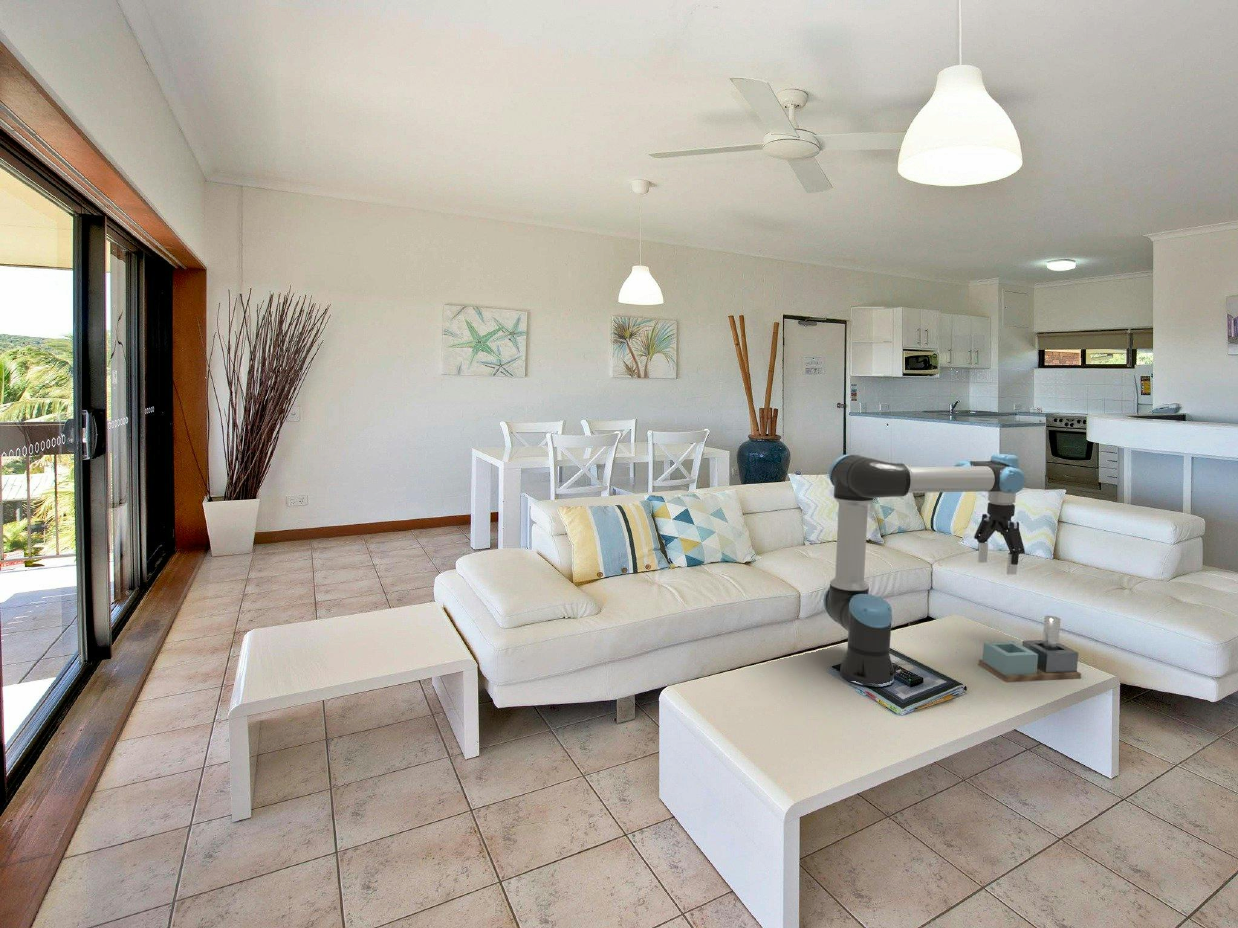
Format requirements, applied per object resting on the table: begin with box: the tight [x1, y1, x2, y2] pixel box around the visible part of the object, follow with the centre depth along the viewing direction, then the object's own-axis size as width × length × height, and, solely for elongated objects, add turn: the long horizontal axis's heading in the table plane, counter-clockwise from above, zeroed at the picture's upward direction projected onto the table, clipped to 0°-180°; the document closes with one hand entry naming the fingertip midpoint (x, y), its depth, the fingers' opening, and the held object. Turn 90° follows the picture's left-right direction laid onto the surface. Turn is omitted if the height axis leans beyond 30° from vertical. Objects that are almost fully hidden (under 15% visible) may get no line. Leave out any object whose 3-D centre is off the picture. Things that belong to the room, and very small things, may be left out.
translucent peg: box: [1042, 615, 1062, 651], centre depth 195 cm, size 4×4×14 cm
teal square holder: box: [981, 640, 1038, 675], centre depth 195 cm, size 10×10×6 cm
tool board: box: [978, 659, 1082, 683], centre depth 196 cm, size 24×12×2 cm, turn 96°
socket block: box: [1021, 639, 1079, 673], centre depth 196 cm, size 10×10×6 cm
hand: (996, 568), depth 207 cm, fingers open, 13 cm apart
